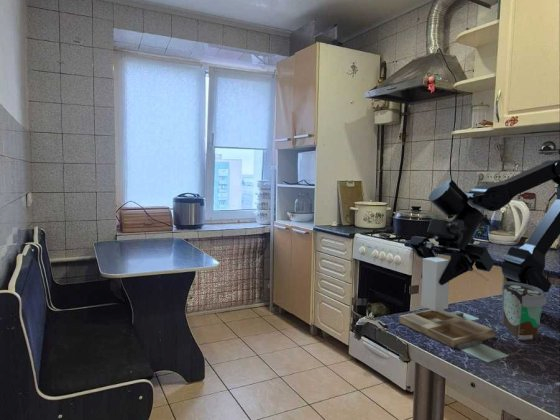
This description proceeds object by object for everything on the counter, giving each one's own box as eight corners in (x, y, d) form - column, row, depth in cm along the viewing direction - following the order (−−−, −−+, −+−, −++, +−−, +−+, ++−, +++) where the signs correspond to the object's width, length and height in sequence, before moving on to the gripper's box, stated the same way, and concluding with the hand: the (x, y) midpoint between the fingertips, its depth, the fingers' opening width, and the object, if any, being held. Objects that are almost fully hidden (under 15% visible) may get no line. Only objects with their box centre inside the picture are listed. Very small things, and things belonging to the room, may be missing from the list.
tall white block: (434, 303, 94) (435, 256, 93) (447, 308, 90) (449, 260, 89) (421, 305, 92) (422, 258, 91) (435, 311, 89) (436, 262, 88)
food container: (555, 348, 79) (558, 298, 78) (520, 345, 80) (523, 296, 80) (529, 325, 91) (532, 282, 90) (500, 323, 92) (502, 280, 92)
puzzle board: (456, 312, 100) (456, 304, 100) (548, 346, 80) (548, 336, 80) (398, 324, 92) (399, 315, 92) (485, 365, 72) (486, 354, 72)
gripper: (414, 203, 99) (382, 252, 94) (488, 208, 84) (454, 268, 79) (433, 232, 104) (404, 280, 99) (507, 242, 89) (476, 300, 84)
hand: (431, 281), depth 90 cm, fingers closed on tall white block, 4 cm apart
